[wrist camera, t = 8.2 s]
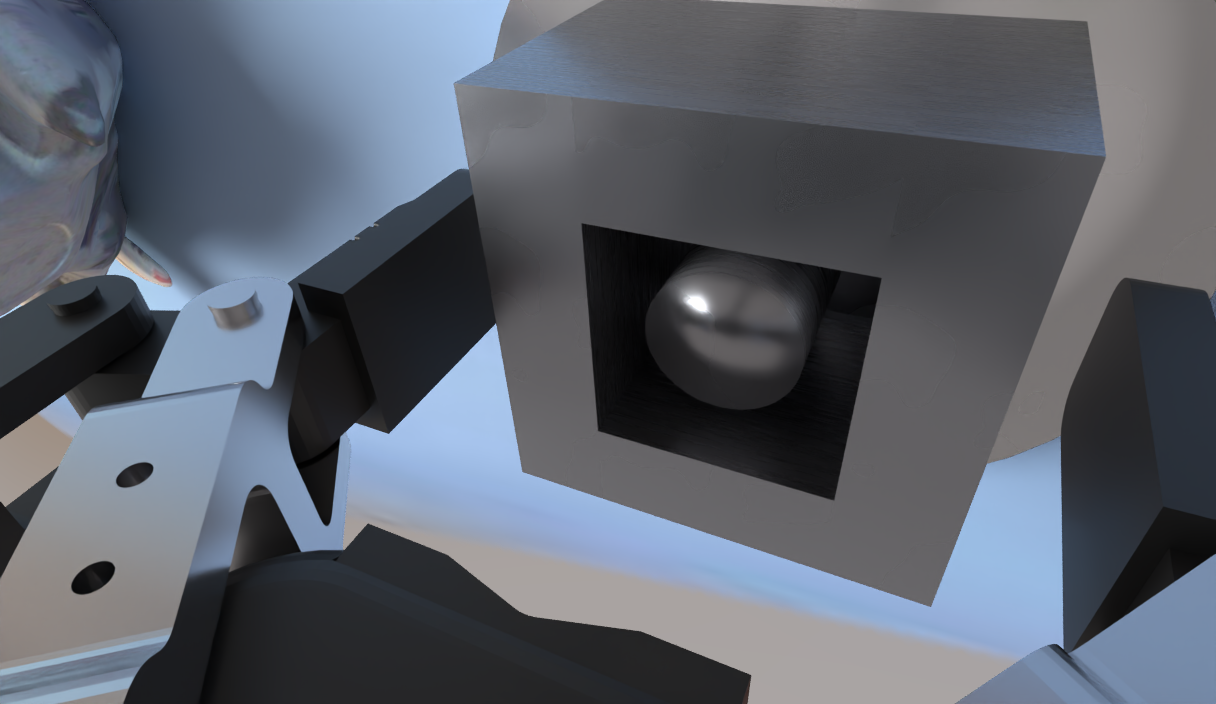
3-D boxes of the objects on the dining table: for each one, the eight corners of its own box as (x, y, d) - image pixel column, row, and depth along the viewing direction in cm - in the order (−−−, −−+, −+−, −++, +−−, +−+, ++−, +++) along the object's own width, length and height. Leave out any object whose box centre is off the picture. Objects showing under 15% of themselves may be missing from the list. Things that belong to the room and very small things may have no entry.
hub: (776, -478, 8) (572, -650, 5) (1467, 162, 9) (1742, 431, 5) (453, 186, 16) (287, 308, 13) (831, 500, 17) (773, 700, 13)
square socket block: (612, -5, 11) (453, 83, 8) (1087, 21, 8) (1105, 156, 6) (626, 329, 14) (522, 472, 11) (958, 408, 12) (930, 606, 9)
